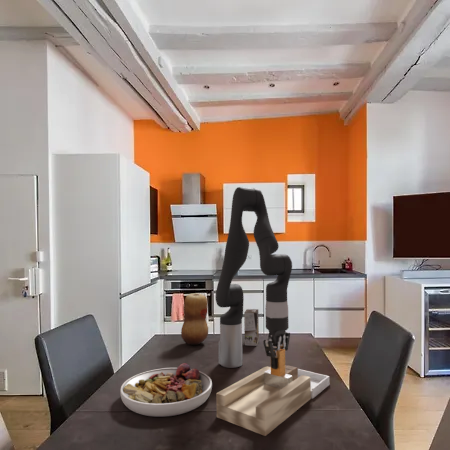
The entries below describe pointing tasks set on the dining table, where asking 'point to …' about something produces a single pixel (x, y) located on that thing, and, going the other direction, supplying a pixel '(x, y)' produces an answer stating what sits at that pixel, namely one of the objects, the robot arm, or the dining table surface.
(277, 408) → the channel board
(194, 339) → the butternut squash
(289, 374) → the brown wooden cube
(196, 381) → the bowl
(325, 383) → the tray
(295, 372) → the brown cube
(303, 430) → the dining table surface
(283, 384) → the scraper
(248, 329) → the coffee box
